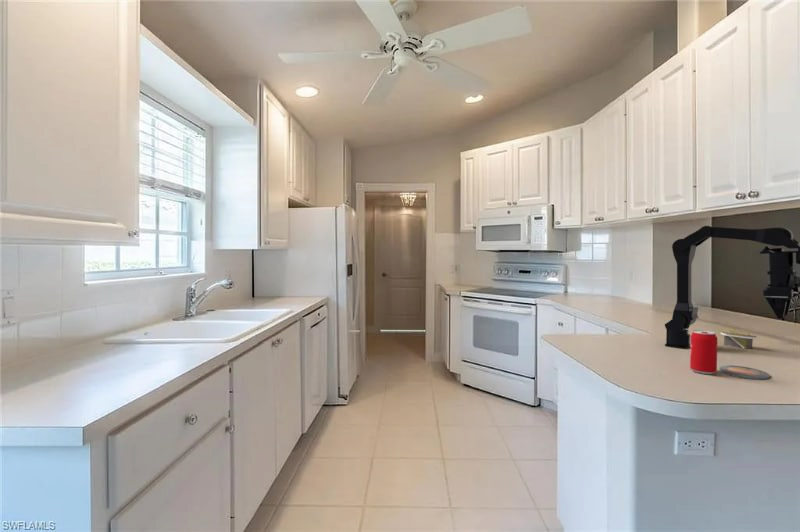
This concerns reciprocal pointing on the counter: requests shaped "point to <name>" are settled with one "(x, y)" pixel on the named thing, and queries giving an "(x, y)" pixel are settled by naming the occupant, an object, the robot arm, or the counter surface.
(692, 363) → the beverage can
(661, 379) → the counter surface
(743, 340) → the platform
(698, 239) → the robot arm
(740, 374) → the slate coaster
